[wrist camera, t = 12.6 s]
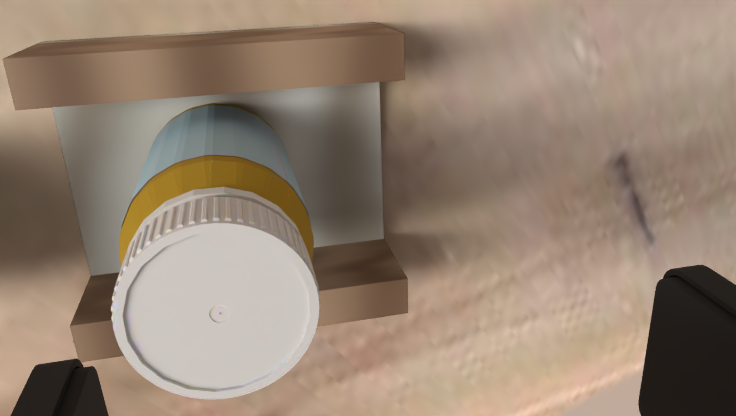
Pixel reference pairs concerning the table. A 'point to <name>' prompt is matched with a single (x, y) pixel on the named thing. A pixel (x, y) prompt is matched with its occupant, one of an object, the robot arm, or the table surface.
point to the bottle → (215, 259)
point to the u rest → (249, 91)
